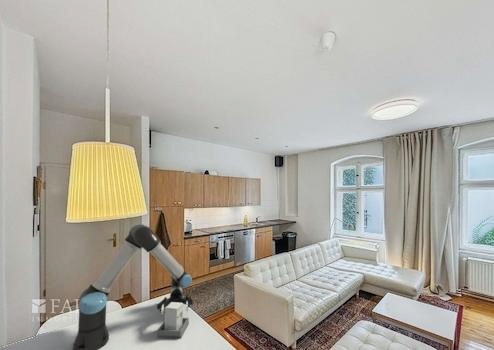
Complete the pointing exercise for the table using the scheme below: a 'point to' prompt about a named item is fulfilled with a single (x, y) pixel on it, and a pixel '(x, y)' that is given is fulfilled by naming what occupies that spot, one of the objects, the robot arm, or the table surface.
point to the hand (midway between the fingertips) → (174, 310)
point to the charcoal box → (172, 333)
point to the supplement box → (173, 316)
